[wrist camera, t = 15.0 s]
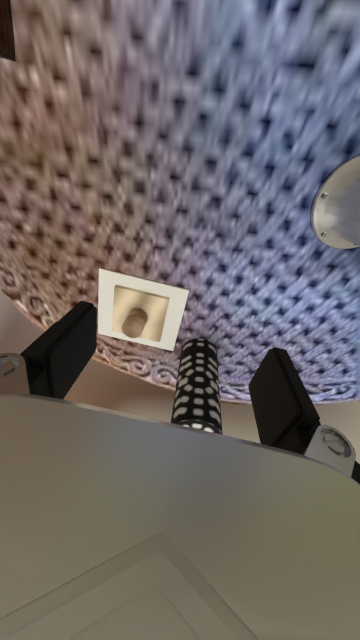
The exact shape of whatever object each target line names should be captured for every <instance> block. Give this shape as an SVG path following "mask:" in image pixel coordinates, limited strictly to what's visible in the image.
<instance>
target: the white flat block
mask: <svg viewBox="0 0 360 640" xmlns="http://www.w3.org/2000/svg"><path fill="white" fill-rule="evenodd" d="M115 285H119V286H123V287H127V288H132V289H136V290H140V291H144V292H148V293H152V294H156V295H160V296H165V297H169V302H168V307H167V312H166V316H165V321H164V326H163V331H162V335H161V340H160V342H156V341H152V340H148V339H144V338H139V337H137V338H130V337H127V336H126V335H125V334H122V333H118V332H114V331H112V320H113V302H114V287H115ZM188 293H189V290H188V289H184V288H180V287H176V286H172V285H168V284H164V283H159V282H155V281H151V280H147V279H143V278H139V277H135V276H131V275H127V274H123V273H119V272H115V271H111V270H107V269H102V268H99V304H98V334H103V335H107V336H111V337H115V338H120V339H124V340H128V341H132V342H137V343H141V344H145V345H149V346H153V347H158V348H162V349H166V350H170V351H173V350H174V346H175V342H176V338H177V335H178V331H179V327H180V323H181V319H182V316H183V312H184V308H185V304H186V300H187V297H188Z"/></svg>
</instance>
